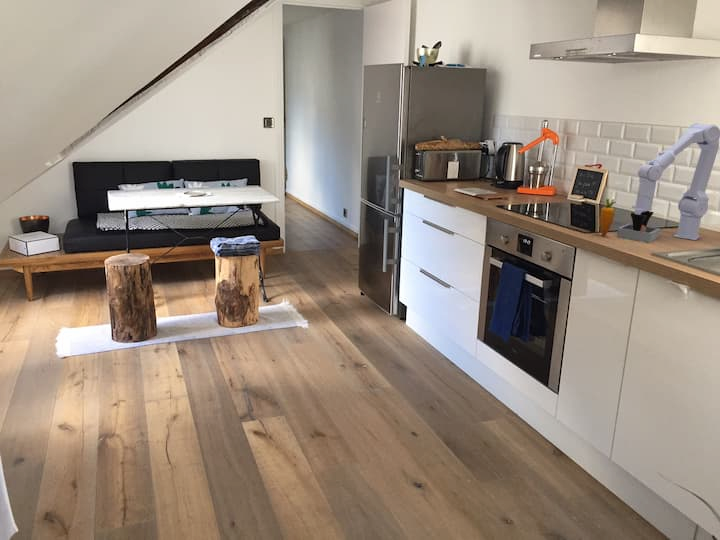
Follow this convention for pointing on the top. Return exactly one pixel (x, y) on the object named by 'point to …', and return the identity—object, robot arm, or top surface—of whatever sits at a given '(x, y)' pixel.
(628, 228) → the grey tray
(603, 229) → the carrot
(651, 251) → the top surface
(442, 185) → the top surface
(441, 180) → the top surface
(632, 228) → the ball
